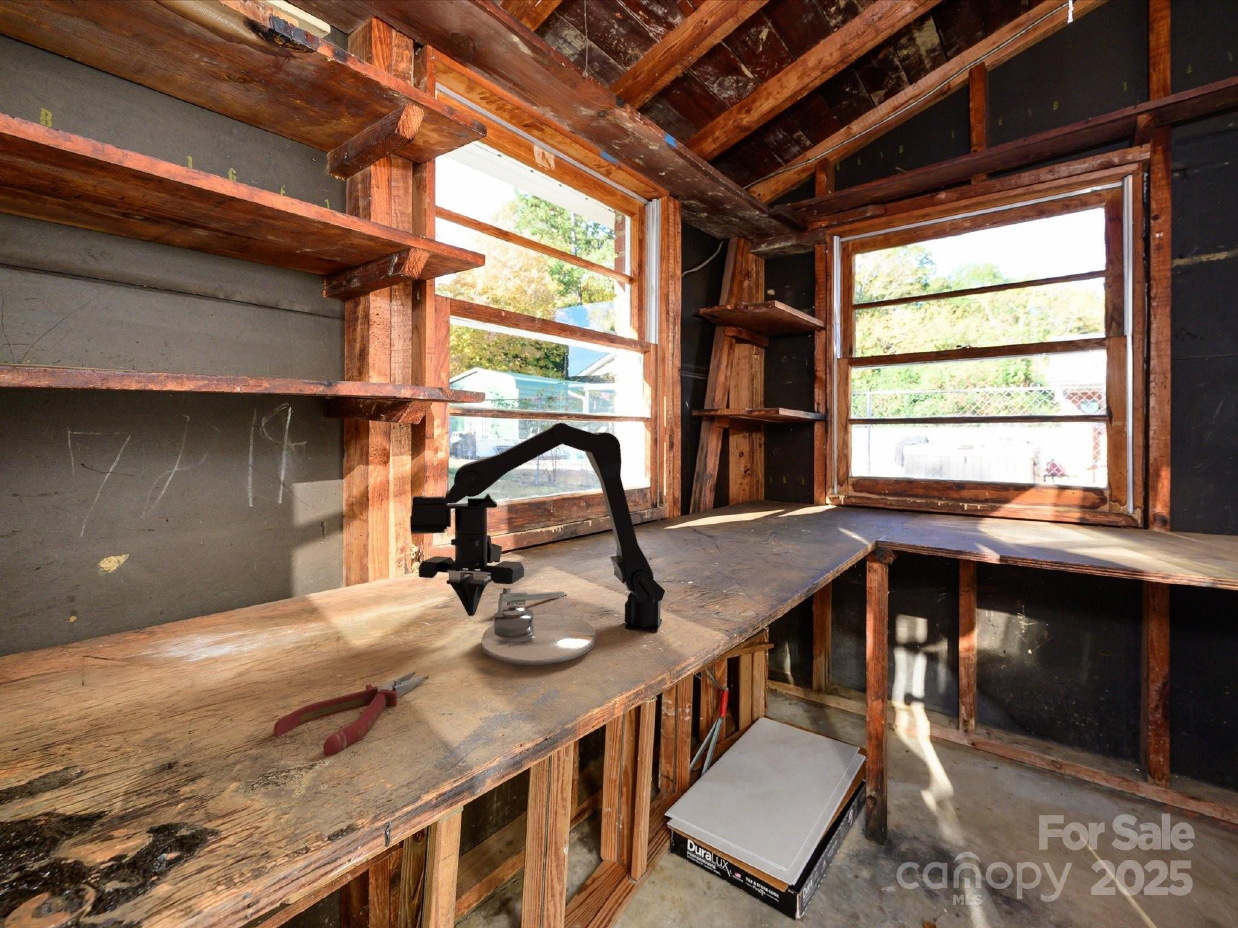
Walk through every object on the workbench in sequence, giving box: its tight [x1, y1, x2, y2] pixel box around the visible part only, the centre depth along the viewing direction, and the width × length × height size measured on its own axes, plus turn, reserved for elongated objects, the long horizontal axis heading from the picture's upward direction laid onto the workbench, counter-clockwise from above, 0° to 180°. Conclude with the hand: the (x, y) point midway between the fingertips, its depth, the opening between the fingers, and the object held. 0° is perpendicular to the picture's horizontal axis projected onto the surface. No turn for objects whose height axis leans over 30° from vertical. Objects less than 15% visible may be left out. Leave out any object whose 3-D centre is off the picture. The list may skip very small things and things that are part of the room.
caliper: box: [497, 587, 568, 612], centre depth 121 cm, size 20×1×6 cm, turn 143°
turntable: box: [481, 614, 596, 666], centre depth 97 cm, size 20×20×1 cm
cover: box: [493, 603, 534, 638], centre depth 98 cm, size 7×7×4 cm
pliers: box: [273, 671, 430, 757], centre depth 75 cm, size 12×20×3 cm, turn 155°
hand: (471, 615), depth 100 cm, fingers closed
